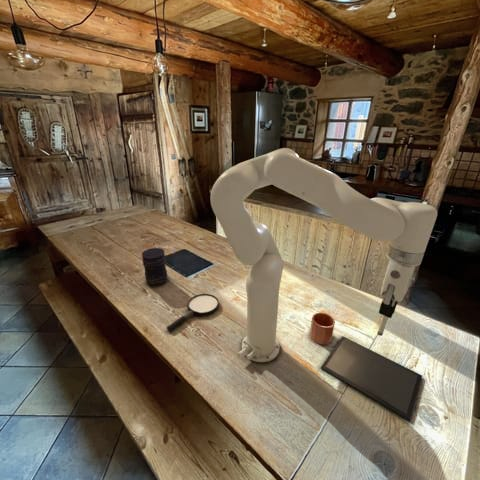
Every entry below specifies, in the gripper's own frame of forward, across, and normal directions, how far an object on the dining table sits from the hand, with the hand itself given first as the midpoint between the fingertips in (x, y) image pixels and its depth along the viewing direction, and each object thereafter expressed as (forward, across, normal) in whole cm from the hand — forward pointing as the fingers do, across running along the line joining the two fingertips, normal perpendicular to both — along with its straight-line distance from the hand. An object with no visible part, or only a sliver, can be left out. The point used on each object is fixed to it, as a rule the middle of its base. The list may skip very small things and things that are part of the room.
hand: (386, 313), depth 72 cm
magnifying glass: (+23, -20, +60) cm, 67 cm away
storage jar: (+23, -16, +91) cm, 95 cm away
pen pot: (+22, +3, +17) cm, 28 cm away
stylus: (+8, 0, 0) cm, 8 cm away
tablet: (+22, -1, -1) cm, 22 cm away
